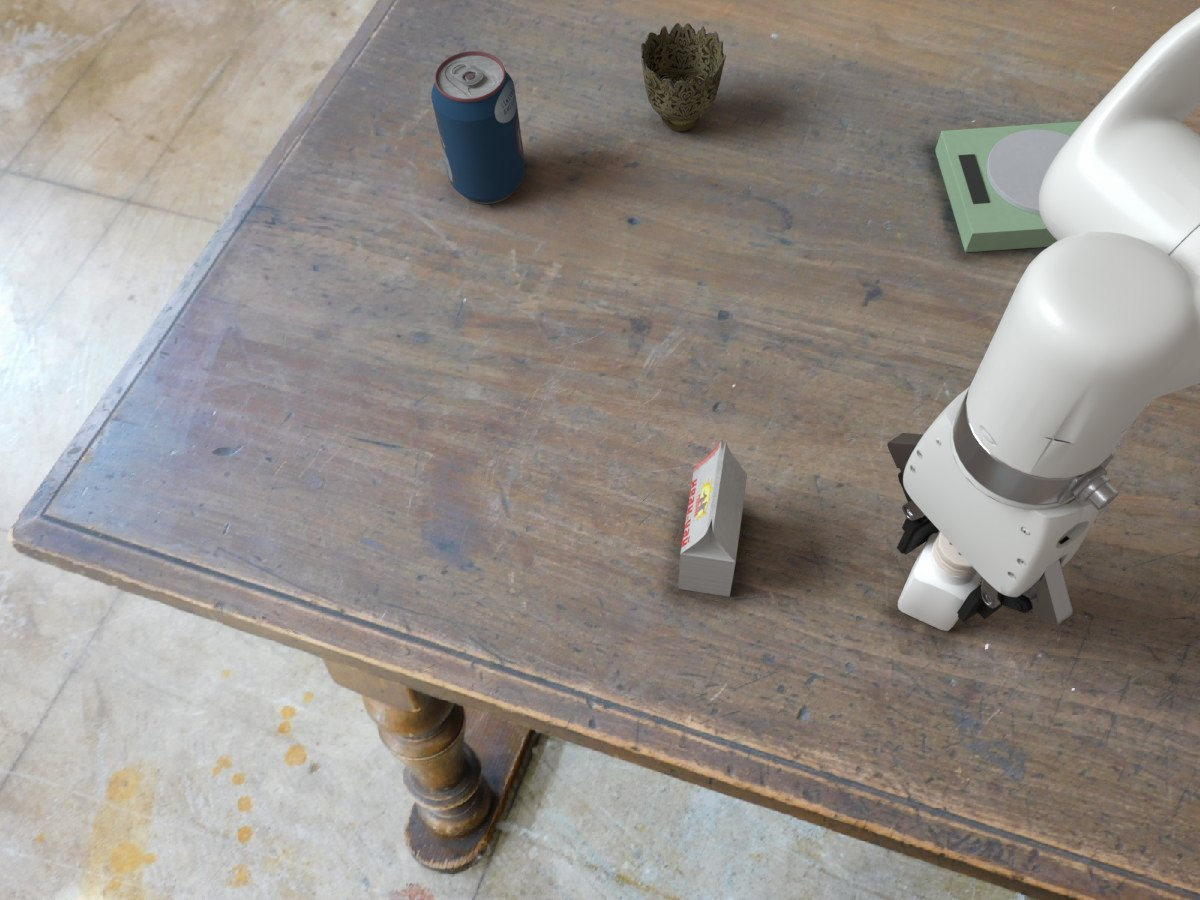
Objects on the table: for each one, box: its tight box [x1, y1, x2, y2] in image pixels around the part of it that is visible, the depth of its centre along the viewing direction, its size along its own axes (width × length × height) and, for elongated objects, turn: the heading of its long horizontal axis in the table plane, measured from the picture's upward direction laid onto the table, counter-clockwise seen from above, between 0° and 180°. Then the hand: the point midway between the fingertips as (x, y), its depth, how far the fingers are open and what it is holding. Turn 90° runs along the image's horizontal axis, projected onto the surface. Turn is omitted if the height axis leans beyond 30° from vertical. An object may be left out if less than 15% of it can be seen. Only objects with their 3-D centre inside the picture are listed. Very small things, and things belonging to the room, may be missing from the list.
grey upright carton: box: [677, 440, 748, 598], centre depth 74 cm, size 4×7×10 cm, turn 169°
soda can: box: [431, 50, 526, 205], centre depth 92 cm, size 7×7×12 cm
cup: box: [640, 22, 727, 132], centre depth 97 cm, size 8×7×8 cm
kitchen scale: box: [934, 120, 1084, 253], centre depth 93 cm, size 13×12×3 cm
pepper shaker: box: [897, 531, 982, 632], centre depth 72 cm, size 4×4×10 cm
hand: (946, 572), depth 72 cm, fingers open, 5 cm apart
